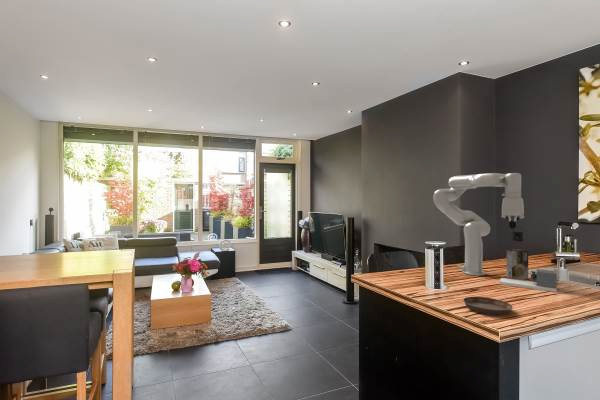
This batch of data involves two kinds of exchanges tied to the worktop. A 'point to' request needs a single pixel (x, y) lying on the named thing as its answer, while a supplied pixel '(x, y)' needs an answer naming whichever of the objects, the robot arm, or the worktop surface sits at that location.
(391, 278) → the worktop surface
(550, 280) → the block
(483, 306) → the plant saucer
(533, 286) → the base board
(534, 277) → the shaft
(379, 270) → the worktop surface
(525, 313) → the worktop surface
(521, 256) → the coffee box
